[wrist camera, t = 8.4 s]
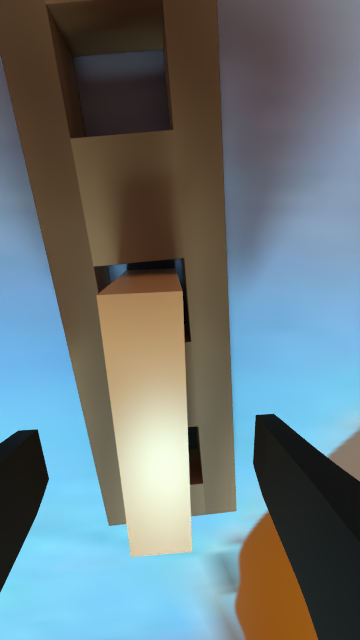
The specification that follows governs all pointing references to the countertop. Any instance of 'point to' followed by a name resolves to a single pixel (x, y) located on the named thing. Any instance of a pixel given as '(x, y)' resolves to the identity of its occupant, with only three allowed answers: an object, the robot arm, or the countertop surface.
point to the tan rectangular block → (149, 406)
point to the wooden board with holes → (131, 206)
